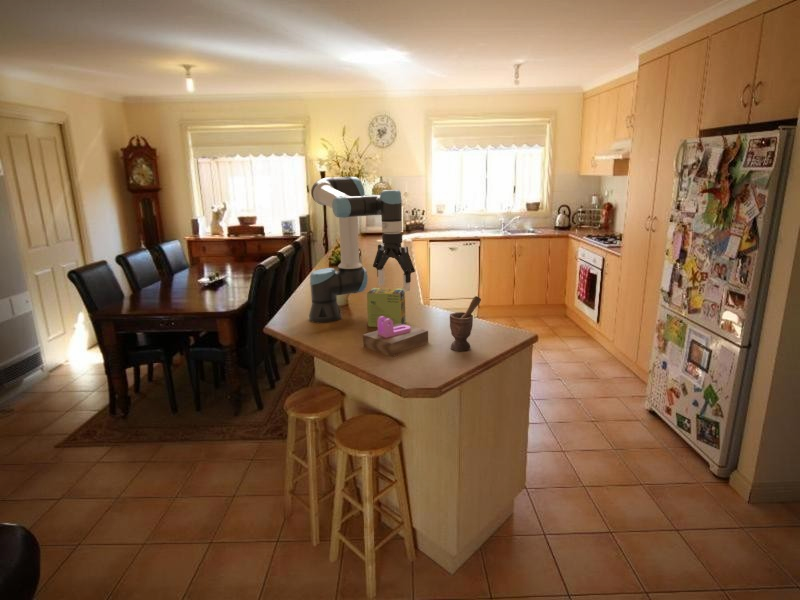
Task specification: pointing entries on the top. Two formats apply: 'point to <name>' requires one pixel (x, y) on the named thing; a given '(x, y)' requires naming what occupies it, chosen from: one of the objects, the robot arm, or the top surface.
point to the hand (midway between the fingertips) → (393, 288)
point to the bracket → (390, 328)
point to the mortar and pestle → (462, 326)
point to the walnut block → (395, 341)
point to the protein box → (386, 305)
